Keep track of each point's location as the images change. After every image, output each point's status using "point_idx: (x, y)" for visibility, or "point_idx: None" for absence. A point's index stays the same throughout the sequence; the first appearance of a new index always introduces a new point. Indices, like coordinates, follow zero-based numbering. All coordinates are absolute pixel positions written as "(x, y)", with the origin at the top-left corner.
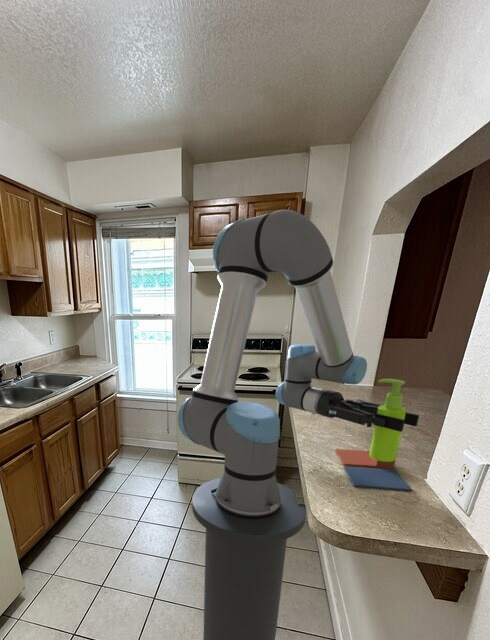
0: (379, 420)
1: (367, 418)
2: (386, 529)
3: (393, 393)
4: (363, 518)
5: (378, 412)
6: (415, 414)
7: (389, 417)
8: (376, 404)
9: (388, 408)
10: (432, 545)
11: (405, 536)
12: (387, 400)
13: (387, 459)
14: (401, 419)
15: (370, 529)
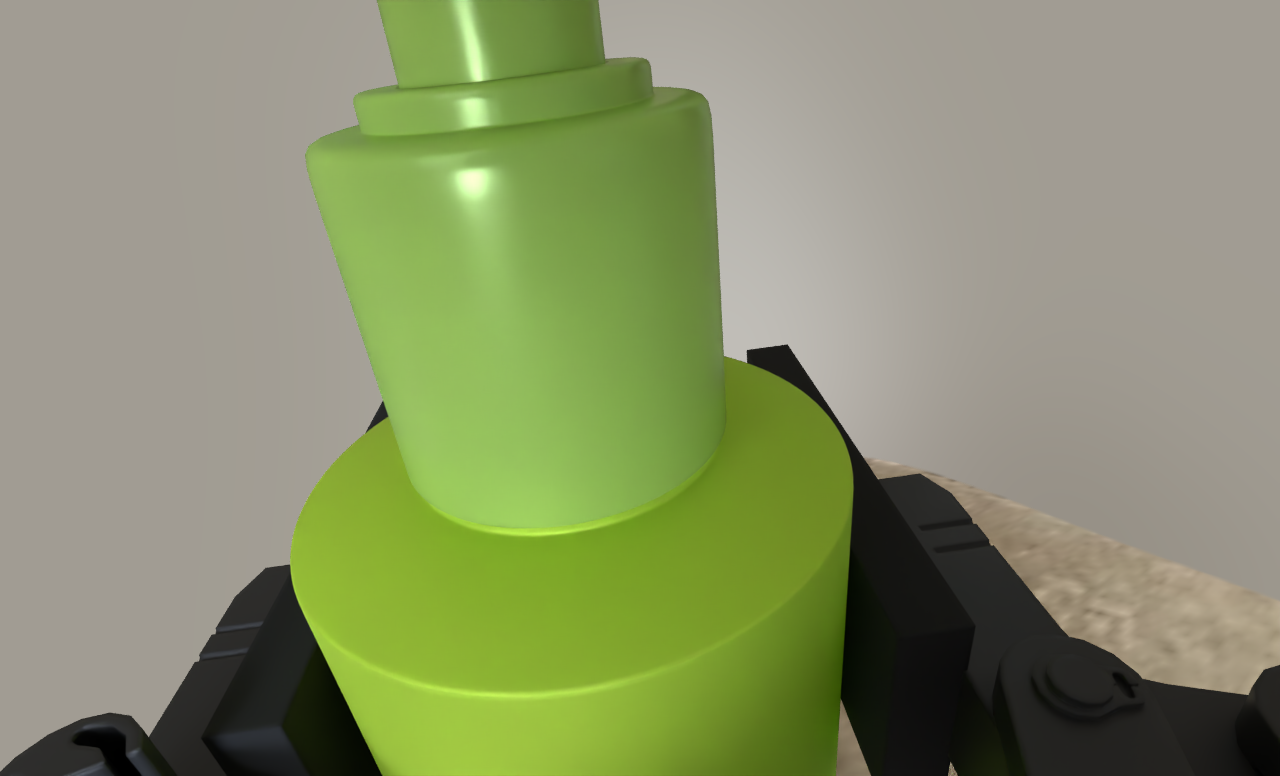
0: (976, 546)
1: (1196, 710)
2: (1112, 592)
3: (603, 60)
4: (1208, 689)
5: (834, 626)
6: (382, 419)
7: (846, 433)
8: None
9: (731, 413)
10: (973, 493)
11: (1047, 543)
12: (717, 276)
13: None
14: (761, 365)
15: (1208, 615)
